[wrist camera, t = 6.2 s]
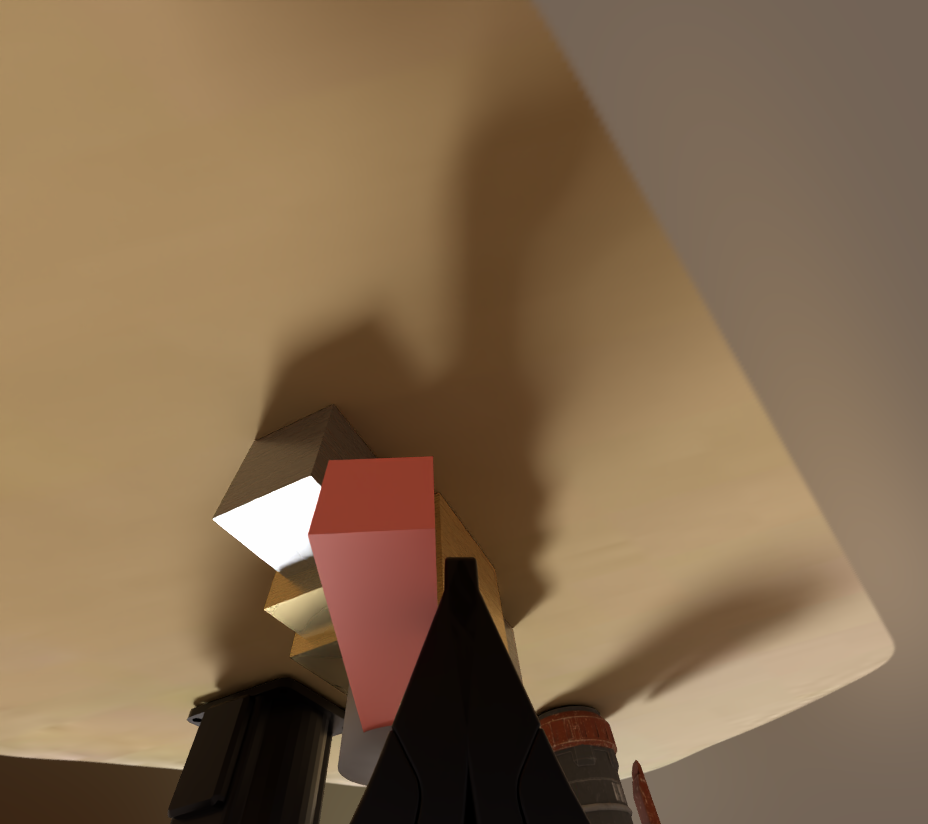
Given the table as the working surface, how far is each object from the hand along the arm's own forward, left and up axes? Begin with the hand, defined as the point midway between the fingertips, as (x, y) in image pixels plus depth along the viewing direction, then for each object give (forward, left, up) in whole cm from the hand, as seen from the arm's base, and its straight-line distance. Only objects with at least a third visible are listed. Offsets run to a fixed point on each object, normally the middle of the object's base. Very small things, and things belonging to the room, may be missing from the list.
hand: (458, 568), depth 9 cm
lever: (-2, +3, -1) cm, 4 cm away
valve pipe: (-5, +4, -6) cm, 9 cm away
